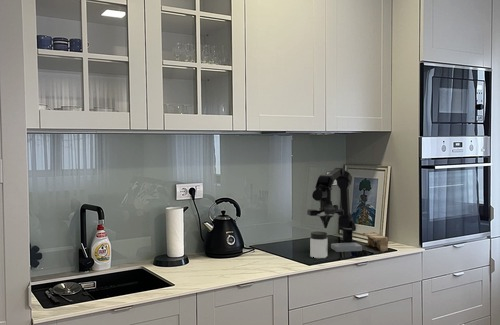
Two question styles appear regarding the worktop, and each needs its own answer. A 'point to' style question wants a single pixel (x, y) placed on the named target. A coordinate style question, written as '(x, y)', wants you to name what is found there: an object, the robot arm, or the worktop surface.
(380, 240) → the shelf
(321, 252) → the jar
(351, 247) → the slate board
